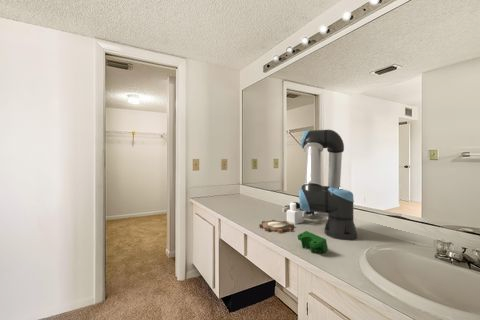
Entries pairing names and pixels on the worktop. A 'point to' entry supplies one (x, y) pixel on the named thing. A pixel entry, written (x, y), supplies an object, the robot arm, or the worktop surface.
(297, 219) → the medicine bottle
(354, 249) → the worktop surface
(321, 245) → the clamp
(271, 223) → the sprocket plate
